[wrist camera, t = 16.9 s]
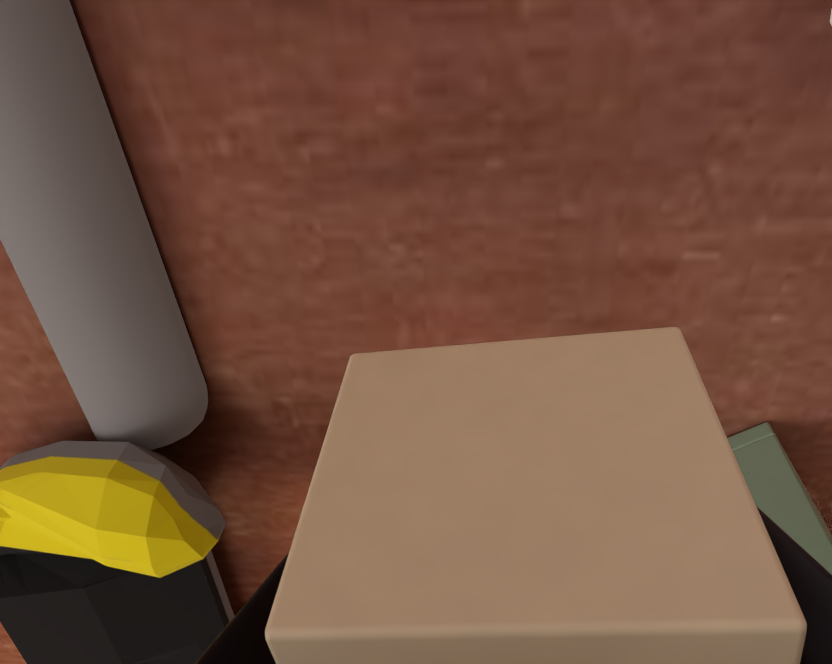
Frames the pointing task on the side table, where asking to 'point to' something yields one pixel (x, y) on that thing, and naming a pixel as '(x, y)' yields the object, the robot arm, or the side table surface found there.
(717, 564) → the block
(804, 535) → the box
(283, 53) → the side table surface
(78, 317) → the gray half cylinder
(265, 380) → the side table surface
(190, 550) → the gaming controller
